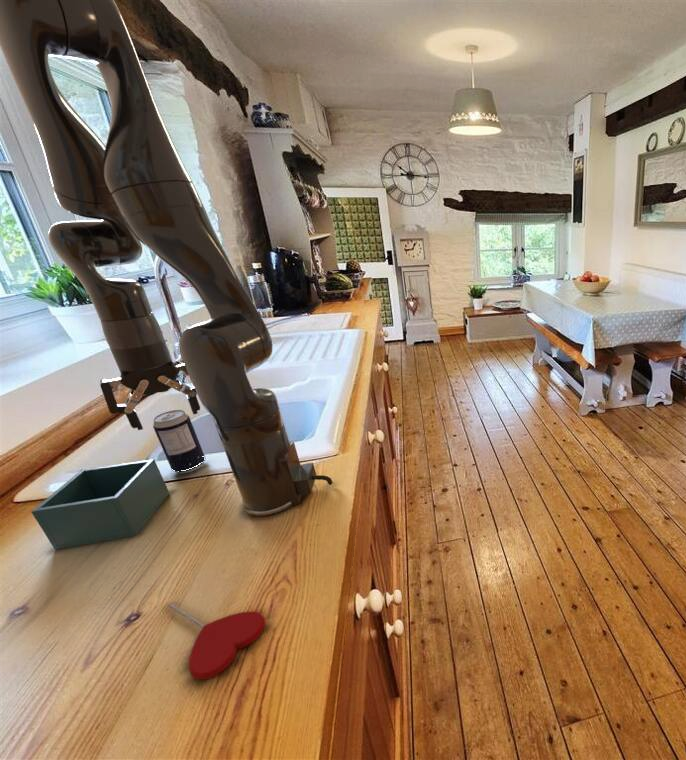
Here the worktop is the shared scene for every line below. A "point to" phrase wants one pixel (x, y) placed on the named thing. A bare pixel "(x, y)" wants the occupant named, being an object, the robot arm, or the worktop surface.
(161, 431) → the beverage can
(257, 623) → the lollipop
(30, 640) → the worktop surface
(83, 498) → the bin
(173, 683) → the worktop surface
